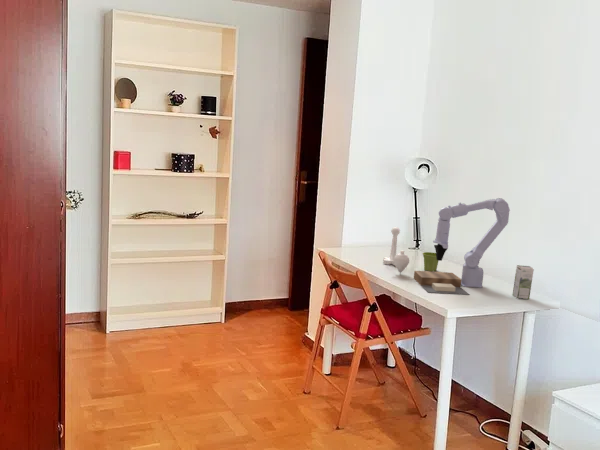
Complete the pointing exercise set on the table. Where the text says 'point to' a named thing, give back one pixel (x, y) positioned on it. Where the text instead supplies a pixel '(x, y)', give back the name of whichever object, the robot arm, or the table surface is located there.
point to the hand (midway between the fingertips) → (439, 260)
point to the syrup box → (523, 282)
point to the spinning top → (401, 261)
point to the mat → (457, 291)
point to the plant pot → (430, 261)
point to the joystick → (392, 247)
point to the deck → (436, 278)
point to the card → (443, 287)
